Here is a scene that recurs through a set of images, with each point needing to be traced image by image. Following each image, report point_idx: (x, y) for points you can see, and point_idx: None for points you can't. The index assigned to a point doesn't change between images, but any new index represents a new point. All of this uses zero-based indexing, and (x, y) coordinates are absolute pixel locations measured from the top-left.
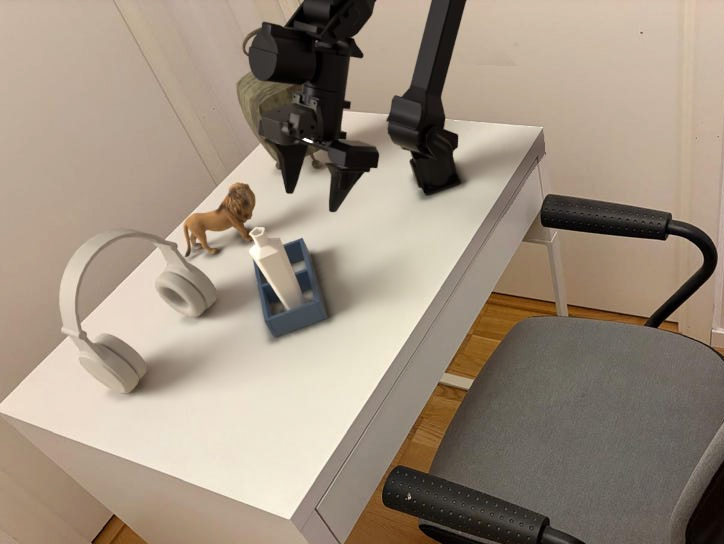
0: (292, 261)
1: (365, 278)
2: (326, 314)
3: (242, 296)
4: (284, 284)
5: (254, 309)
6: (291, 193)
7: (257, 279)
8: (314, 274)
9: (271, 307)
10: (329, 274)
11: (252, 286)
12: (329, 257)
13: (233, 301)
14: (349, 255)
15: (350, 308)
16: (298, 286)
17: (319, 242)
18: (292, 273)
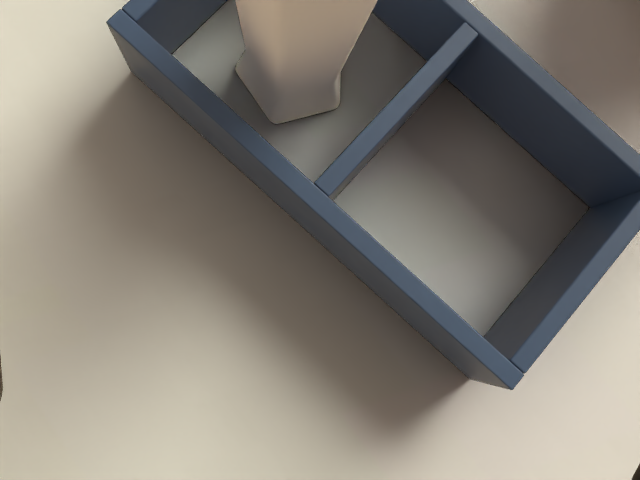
0: (514, 303)
1: (104, 331)
2: (131, 68)
3: (582, 65)
4: None
5: None
6: (636, 471)
7: (524, 56)
8: (318, 230)
9: (407, 37)
10: (293, 297)
11: None
12: (366, 394)
13: (598, 31)
14: (277, 440)
15: (65, 149)
16: (266, 55)
17: (483, 467)
18: (256, 2)
